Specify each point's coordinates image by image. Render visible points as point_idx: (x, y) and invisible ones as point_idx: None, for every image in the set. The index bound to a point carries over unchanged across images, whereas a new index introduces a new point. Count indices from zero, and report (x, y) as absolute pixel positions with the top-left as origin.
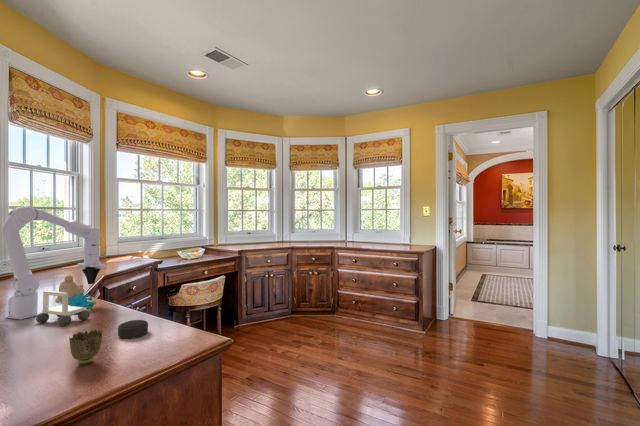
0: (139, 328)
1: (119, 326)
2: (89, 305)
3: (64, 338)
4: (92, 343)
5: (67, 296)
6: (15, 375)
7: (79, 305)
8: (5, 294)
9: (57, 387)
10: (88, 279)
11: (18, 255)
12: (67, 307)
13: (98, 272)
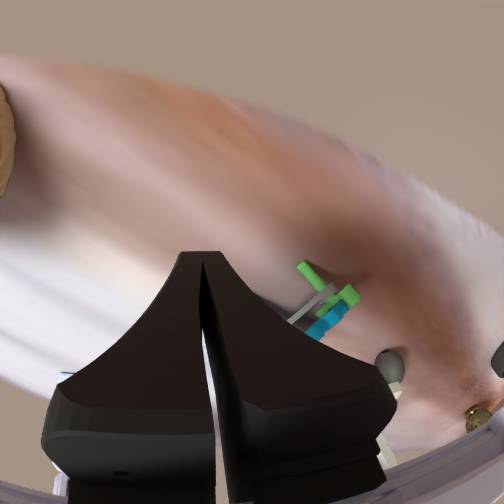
0: None
1: (502, 377)
2: (327, 306)
3: (411, 410)
4: None
5: (396, 464)
6: (417, 446)
7: None
8: None
9: (461, 427)
10: (209, 358)
11: None
12: (383, 434)
13: (319, 343)
